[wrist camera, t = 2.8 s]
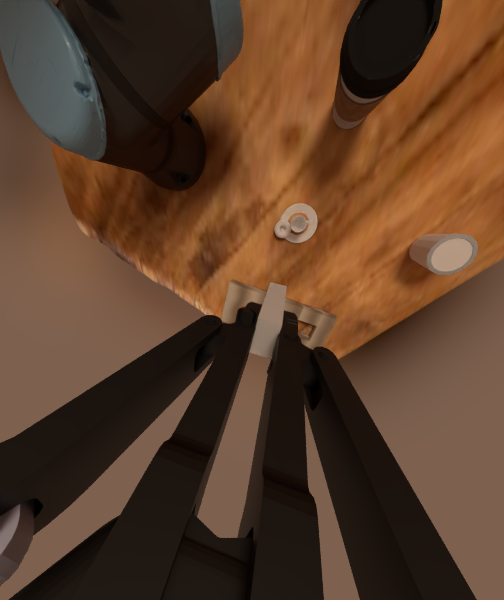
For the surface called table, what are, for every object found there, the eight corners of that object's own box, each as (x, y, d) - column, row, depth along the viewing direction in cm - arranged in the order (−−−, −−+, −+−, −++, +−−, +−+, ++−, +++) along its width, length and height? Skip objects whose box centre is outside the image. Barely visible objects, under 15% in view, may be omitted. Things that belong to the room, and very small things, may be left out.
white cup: (432, 222, 35) (462, 224, 29) (454, 247, 36) (488, 253, 29) (397, 250, 38) (417, 256, 32) (418, 272, 39) (442, 283, 33)
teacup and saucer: (272, 238, 42) (270, 240, 39) (280, 199, 39) (279, 197, 35) (310, 246, 41) (312, 248, 38) (322, 207, 38) (325, 206, 34)
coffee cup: (364, 142, 32) (413, 90, 19) (317, 133, 33) (331, 78, 20) (390, 74, 29) (473, -49, 15) (336, 67, 29) (369, -57, 16)
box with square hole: (223, 316, 54) (220, 320, 52) (232, 279, 49) (229, 282, 46) (315, 349, 52) (316, 355, 50) (335, 314, 46) (337, 319, 44)
